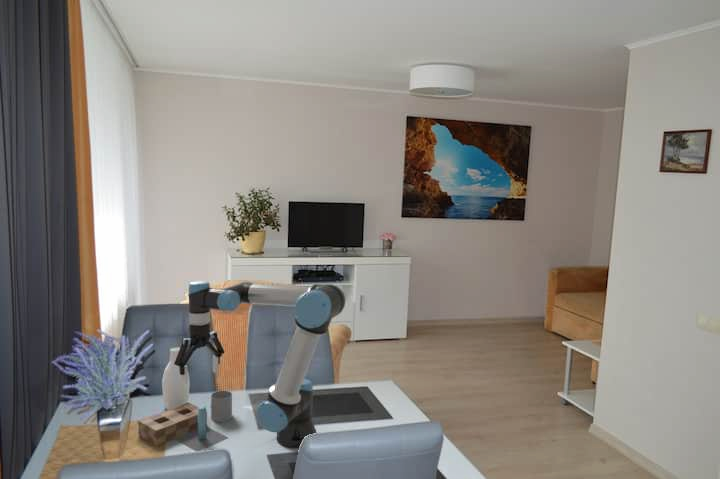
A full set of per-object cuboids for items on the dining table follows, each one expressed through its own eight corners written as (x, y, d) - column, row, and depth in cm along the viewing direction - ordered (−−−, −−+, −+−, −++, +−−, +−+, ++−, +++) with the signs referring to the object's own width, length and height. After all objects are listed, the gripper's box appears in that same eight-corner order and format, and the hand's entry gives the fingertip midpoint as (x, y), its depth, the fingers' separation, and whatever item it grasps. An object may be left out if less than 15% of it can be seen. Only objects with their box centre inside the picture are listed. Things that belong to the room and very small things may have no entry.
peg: (207, 438, 203) (207, 407, 202) (201, 441, 201) (201, 410, 199) (203, 435, 205) (202, 405, 203) (196, 438, 202) (196, 408, 201)
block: (206, 425, 214) (206, 411, 213) (156, 446, 197) (156, 430, 196) (188, 416, 221) (188, 402, 220) (138, 435, 204) (138, 420, 203)
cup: (226, 423, 216) (226, 399, 215) (207, 421, 217) (207, 397, 216) (235, 414, 224) (235, 391, 223) (217, 412, 226) (217, 389, 225)
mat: (228, 438, 204) (228, 437, 204) (197, 452, 193) (197, 451, 193) (206, 427, 212) (206, 426, 212) (174, 440, 202) (174, 439, 201)
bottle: (179, 399, 238) (178, 343, 235) (195, 406, 231) (194, 348, 228) (156, 407, 229) (156, 349, 226) (172, 414, 222) (172, 355, 219)
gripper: (221, 314, 213) (221, 366, 215) (163, 327, 194) (164, 384, 196) (233, 318, 208) (233, 371, 210) (175, 331, 189) (176, 389, 191)
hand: (200, 377), depth 203 cm, fingers open, 13 cm apart
